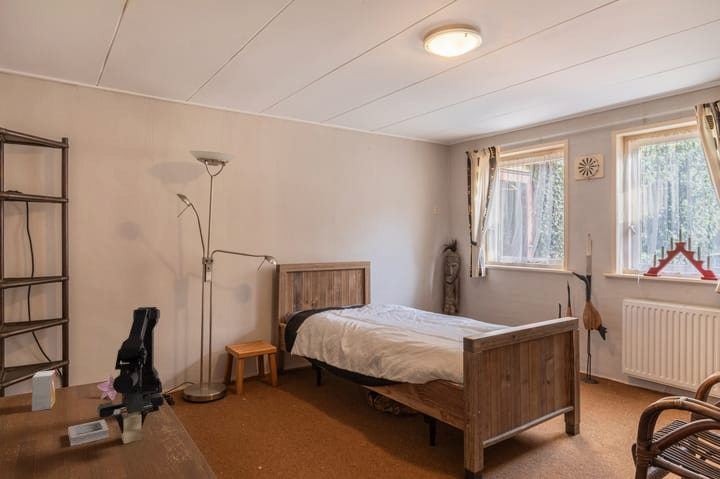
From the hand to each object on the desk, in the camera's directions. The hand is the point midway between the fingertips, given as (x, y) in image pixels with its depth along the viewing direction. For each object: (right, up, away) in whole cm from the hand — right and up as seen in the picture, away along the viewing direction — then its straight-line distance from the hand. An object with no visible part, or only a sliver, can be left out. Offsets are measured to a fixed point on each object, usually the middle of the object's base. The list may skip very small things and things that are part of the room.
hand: (131, 431), depth 144 cm
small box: (-49, -3, +28) cm, 57 cm away
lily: (-29, -3, +39) cm, 49 cm away
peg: (0, -3, 0) cm, 3 cm away
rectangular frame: (-15, -3, +2) cm, 16 cm away
